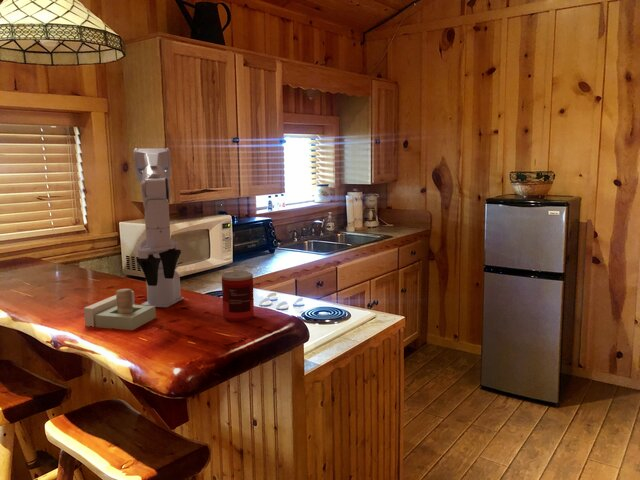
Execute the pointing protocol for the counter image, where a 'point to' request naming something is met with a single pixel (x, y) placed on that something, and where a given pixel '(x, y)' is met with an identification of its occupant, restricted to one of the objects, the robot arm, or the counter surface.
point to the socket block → (125, 317)
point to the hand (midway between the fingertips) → (161, 281)
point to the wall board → (100, 309)
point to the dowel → (124, 301)
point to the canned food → (237, 296)
